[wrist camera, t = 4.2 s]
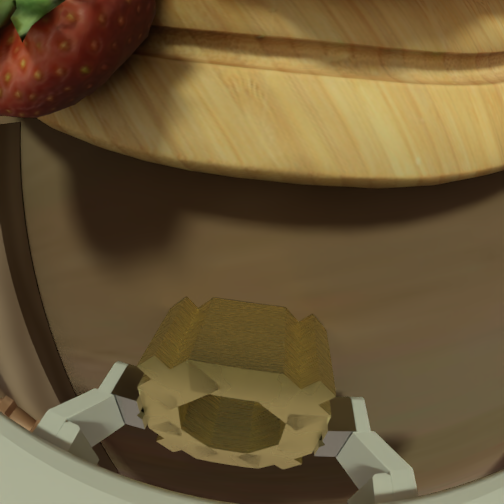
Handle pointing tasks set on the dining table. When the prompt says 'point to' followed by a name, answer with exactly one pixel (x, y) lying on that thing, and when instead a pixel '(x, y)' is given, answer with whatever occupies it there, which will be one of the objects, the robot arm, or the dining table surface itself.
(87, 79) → the wooden plate with food
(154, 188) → the dining table surface
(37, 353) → the gear board
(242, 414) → the brass gear
